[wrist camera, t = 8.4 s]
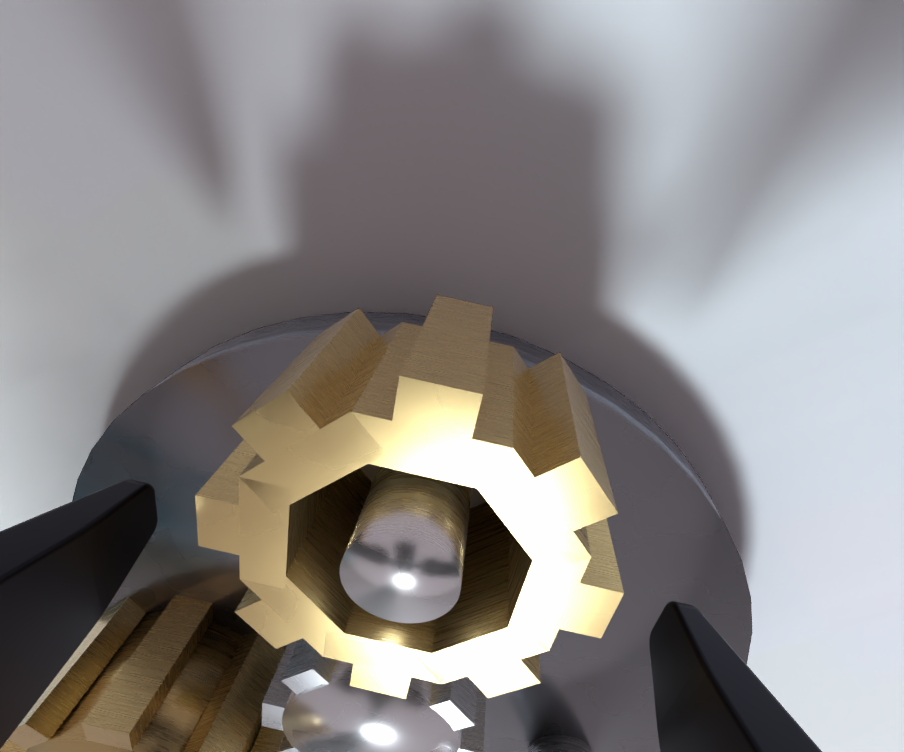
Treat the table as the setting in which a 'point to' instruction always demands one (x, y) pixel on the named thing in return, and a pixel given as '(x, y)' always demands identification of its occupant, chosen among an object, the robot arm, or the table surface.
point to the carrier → (367, 593)
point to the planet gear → (430, 455)
